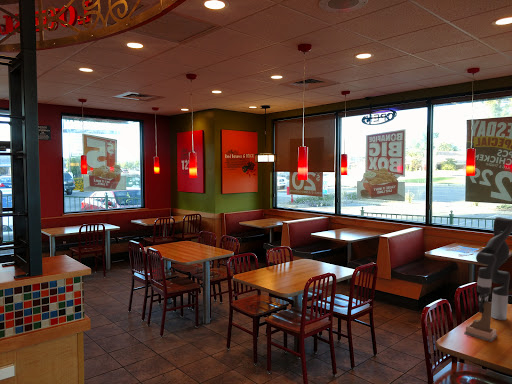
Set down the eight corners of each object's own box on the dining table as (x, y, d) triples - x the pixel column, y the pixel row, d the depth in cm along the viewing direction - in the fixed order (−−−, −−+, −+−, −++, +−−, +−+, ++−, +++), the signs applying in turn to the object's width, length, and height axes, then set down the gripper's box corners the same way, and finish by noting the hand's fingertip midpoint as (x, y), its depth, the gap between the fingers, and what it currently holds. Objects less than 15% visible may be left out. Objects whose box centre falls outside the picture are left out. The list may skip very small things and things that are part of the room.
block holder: (470, 328, 249) (471, 321, 249) (496, 336, 238) (497, 329, 238) (464, 333, 241) (464, 326, 240) (491, 342, 230) (492, 334, 230)
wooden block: (472, 328, 240) (474, 300, 239) (473, 326, 244) (475, 298, 242) (488, 332, 235) (491, 303, 233) (490, 330, 238) (492, 302, 237)
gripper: (481, 281, 245) (479, 307, 246) (473, 285, 235) (472, 312, 236) (494, 284, 240) (492, 310, 241) (487, 288, 230) (485, 316, 231)
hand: (482, 311), depth 238 cm, fingers closed on wooden block, 4 cm apart
